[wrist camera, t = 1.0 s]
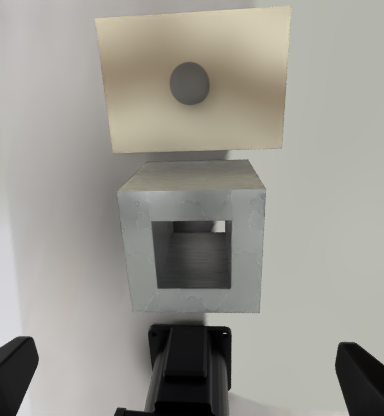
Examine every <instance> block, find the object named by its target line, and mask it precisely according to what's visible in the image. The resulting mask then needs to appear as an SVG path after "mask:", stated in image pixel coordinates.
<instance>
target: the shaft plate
mask: <svg viewBox="0 0 384 416" xmlns="http://www.w3.org/2000/svg"><path fill="white" fill-rule="evenodd" d="M290 21H291V6H280V7H264V8H248V9H232V10H217V11H201V12H185V13H170V14H154V15H138V16H123V17H107V18H95V23H96V30H97V38H98V45H99V53H100V60H101V68H102V75H103V83H104V90H105V98H106V105H107V113H108V120H109V128H110V135H111V143H112V150H113V153H140V152H174V151H209V150H242V149H277V148H282V139H283V123H284V109H285V94H286V80H287V65H288V50H289V35H290Z"/></svg>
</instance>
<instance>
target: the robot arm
mask: <svg viewBox="0 0 384 416" xmlns="http://www.w3.org/2000/svg"><path fill="white" fill-rule="evenodd" d="M154 332H157V333H154ZM223 333H227V334H223ZM148 337H149V346H150V354H151V363H152V371H153V373H152V377H151V382H150V386H149V391H148V396H147V400H146V405H145V410H144V411H133V410H126V408H119V407H118V408H117V410H116V412H115V414H114V416H229V403H228V391H229V390H230V389H231V337H232V335H231V329H230V328H228V327H225V326H161V325H154V326H151V327H150V328H149V332H148ZM38 361H39V356H38V353H37V349H36V346H35V342H34V339H33V338H32V337H30V336H19V337H16V338H14V339H13V340H11V341H10V342H8V343H7V344H5V345H4V346H2V347H0V416H16V414H17V412H18V410H19V408H20V405H21V403H22V401H23V398H24V396H25V394H26V391H27V389H28V387H29V384H30V382H31V380H32V377H33V375H34V373H35V370H36V368H37V365H38ZM335 369H336V374H337V377H338V380H339V383H340V387H341V390H342V393H343V396H344V400H345V403H346V406H347V409H348V412H349V416H384V365H383V364H382V363H381V362H380V361H378V360H377V359H376V358H375V357H373V356H372V355H371V354H369V353H368V352H367V351H366V350H365V349H363V348H362V347H361V346H359V345H358V344H357V343H354V342H340V343H339V345H338V350H337V356H336V362H335Z"/></svg>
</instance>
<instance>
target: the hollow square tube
mask: <svg viewBox="0 0 384 416" xmlns="http://www.w3.org/2000/svg"><path fill="white" fill-rule="evenodd" d="M116 193H117V200H118V208H119V215H120V222H121V230H122V237H123V244H124V252H125V259H126V267H127V274H128V281H129V289H130V296H131V303H132V311H133V312H207V313H212V312H213V313H260V293H261V275H262V274H261V273H262V256H263V236H264V217H265V196H266V189H265V187H264V185H263V183H262V182H261V180H260V179H259V177H258V175H257V174H256V172H255V171H254V169H253V167H252V165H251V164H250V162H249V161H248V160H214V161H177V162H147V163H146V164H145V165H144V166H143V167H142V168H141V169H140V170H139V171H138V172H136V173H135V174H134V175H133V176H132V177H131V178H130V179H129V180H128V181H127V182H126V183H125V184H124V185H123V186H122V187H121V188H120V189H119V190H118V191H117V192H116ZM216 220H225V222H226V223H225V232H216V233H173V221H216Z"/></svg>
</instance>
